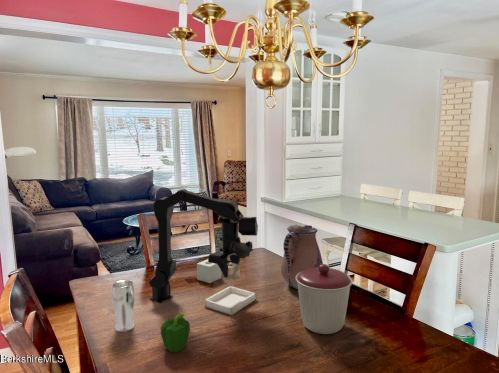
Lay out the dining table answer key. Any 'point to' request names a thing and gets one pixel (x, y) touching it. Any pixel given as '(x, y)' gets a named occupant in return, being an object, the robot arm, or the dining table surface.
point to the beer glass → (123, 304)
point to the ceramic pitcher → (299, 252)
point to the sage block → (208, 271)
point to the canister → (323, 298)
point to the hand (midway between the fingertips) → (230, 275)
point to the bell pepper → (175, 333)
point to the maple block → (232, 272)
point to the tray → (230, 300)
